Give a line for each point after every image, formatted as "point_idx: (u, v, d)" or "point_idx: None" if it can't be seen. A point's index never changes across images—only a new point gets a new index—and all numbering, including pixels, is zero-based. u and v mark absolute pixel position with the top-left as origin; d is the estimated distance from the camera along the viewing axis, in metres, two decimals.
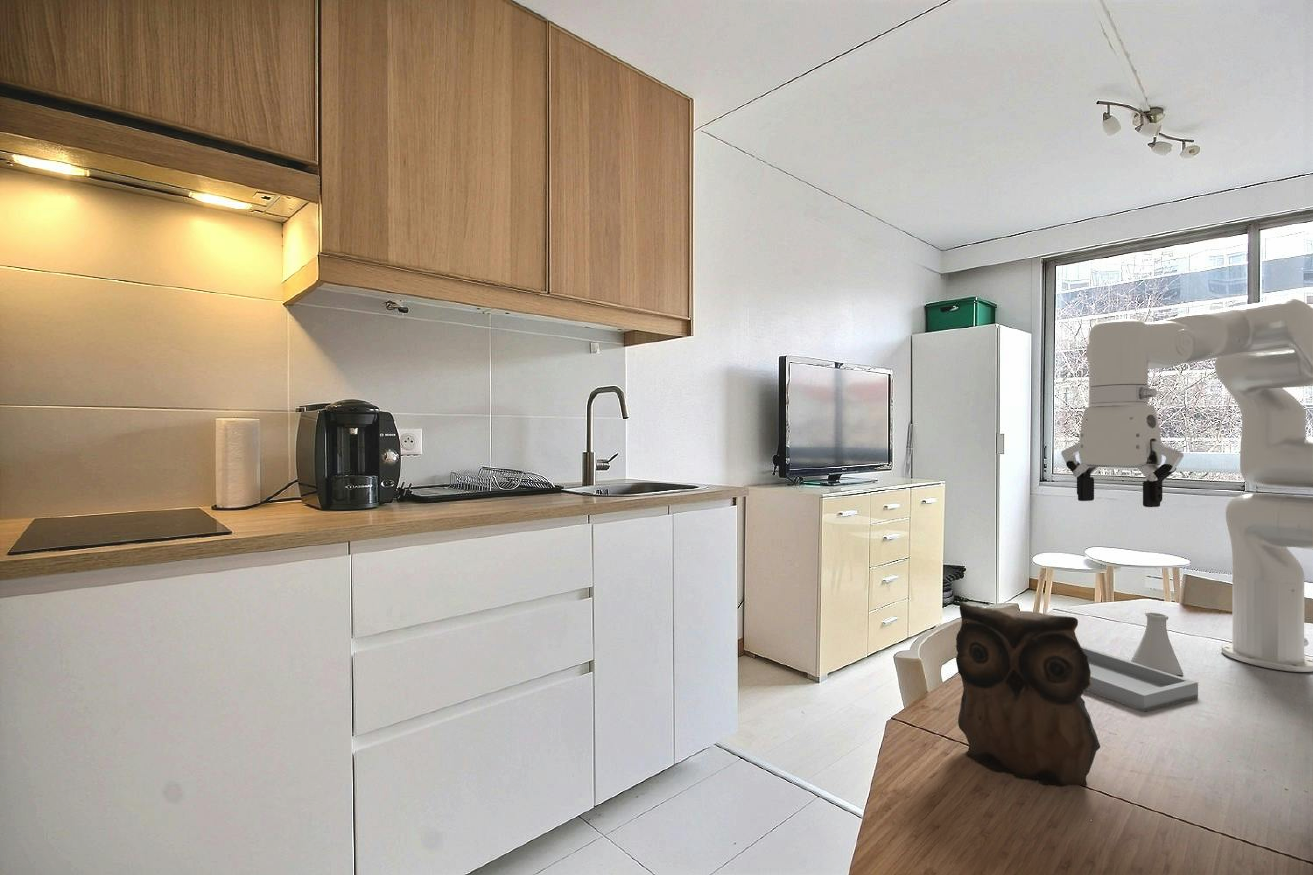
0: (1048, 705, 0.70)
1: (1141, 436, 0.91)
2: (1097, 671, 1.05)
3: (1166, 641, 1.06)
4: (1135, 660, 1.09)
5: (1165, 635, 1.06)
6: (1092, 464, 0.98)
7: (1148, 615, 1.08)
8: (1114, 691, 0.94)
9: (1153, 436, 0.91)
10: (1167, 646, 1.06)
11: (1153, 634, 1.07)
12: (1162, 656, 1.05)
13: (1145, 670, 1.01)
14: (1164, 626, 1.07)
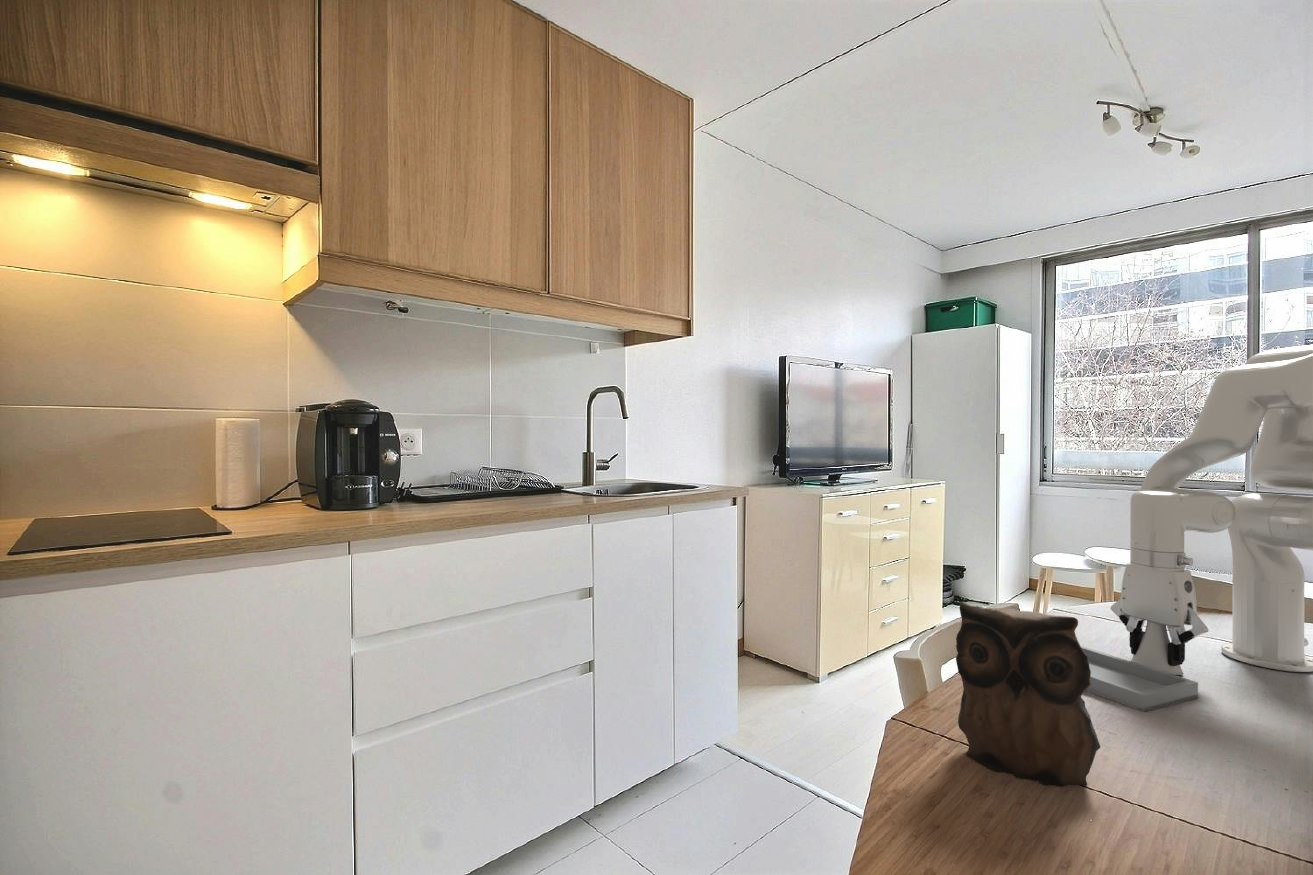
0: (1048, 705, 0.70)
1: (1179, 600, 1.03)
2: (1097, 671, 1.05)
3: (1166, 641, 1.06)
4: (1135, 660, 1.09)
5: (1165, 635, 1.06)
6: (1133, 615, 1.09)
7: None
8: (1114, 691, 0.94)
9: (1190, 600, 1.03)
10: (1167, 645, 1.06)
11: (1153, 633, 1.07)
12: (1162, 656, 1.05)
13: (1145, 670, 1.01)
14: (1164, 626, 1.07)
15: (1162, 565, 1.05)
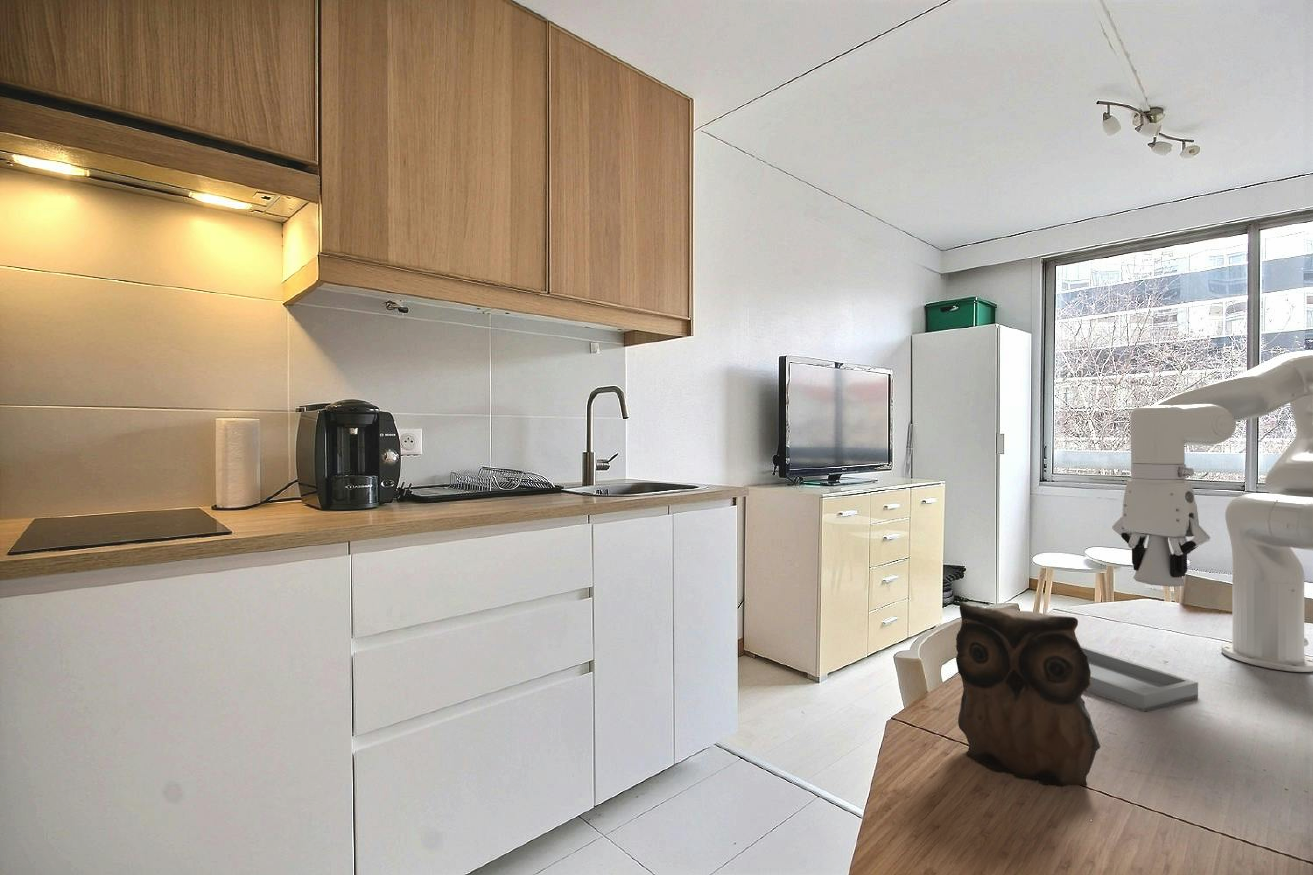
0: (1048, 705, 0.70)
1: (1181, 511, 1.03)
2: (1097, 671, 1.05)
3: (1168, 554, 1.06)
4: (1137, 575, 1.09)
5: (1167, 548, 1.06)
6: (1135, 531, 1.10)
7: None
8: (1114, 691, 0.94)
9: (1191, 510, 1.03)
10: None
11: (1155, 547, 1.07)
12: (1164, 569, 1.06)
13: (1145, 670, 1.01)
14: (1166, 540, 1.07)
15: (1163, 477, 1.05)
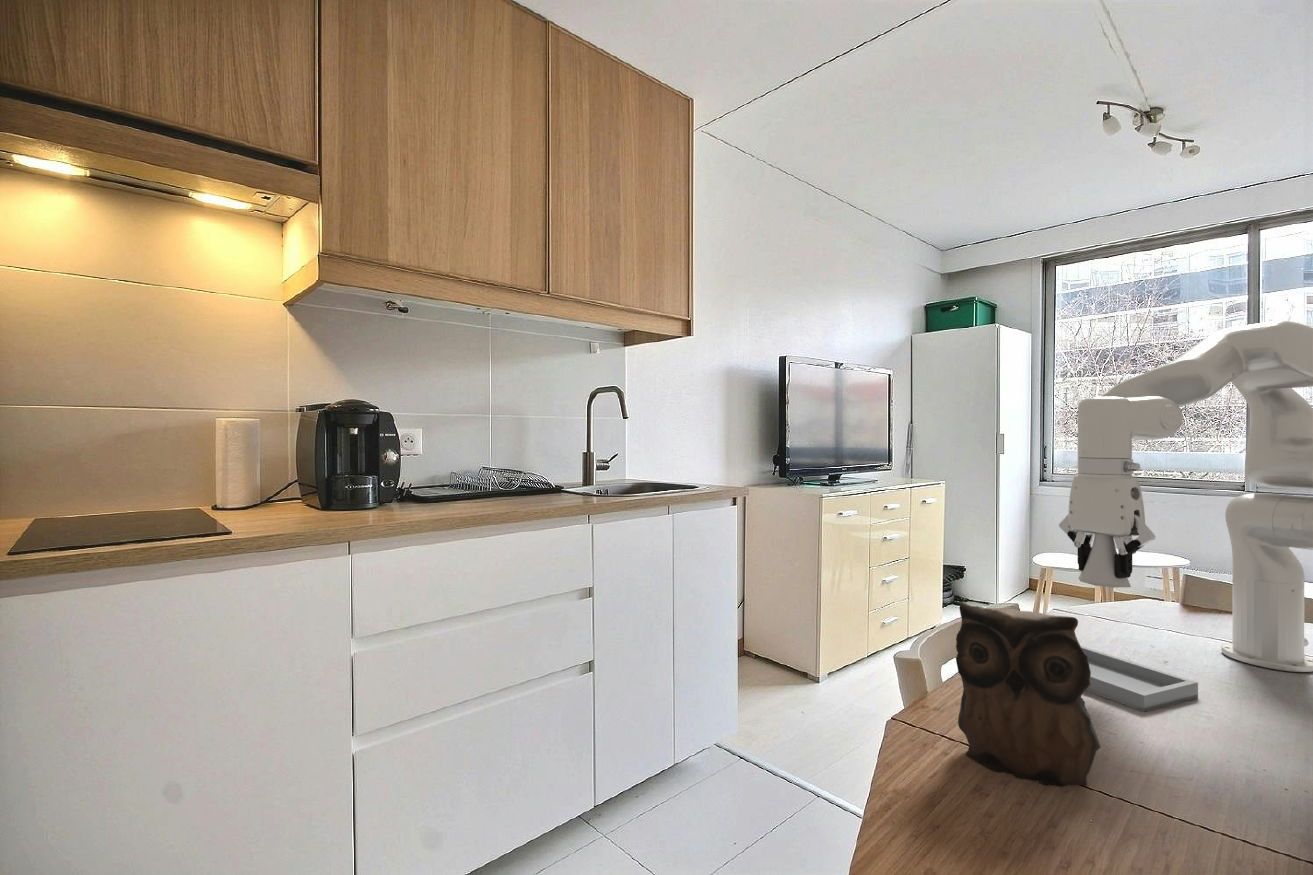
0: (1048, 705, 0.70)
1: (1125, 508, 0.97)
2: (1097, 671, 1.05)
3: (1113, 553, 1.01)
4: (1082, 575, 1.03)
5: (1112, 547, 1.01)
6: (1080, 529, 1.04)
7: None
8: (1114, 691, 0.94)
9: (1137, 507, 0.98)
10: None
11: (1100, 546, 1.01)
12: (1108, 569, 1.00)
13: (1145, 670, 1.01)
14: (1112, 538, 1.01)
15: (1108, 472, 0.99)
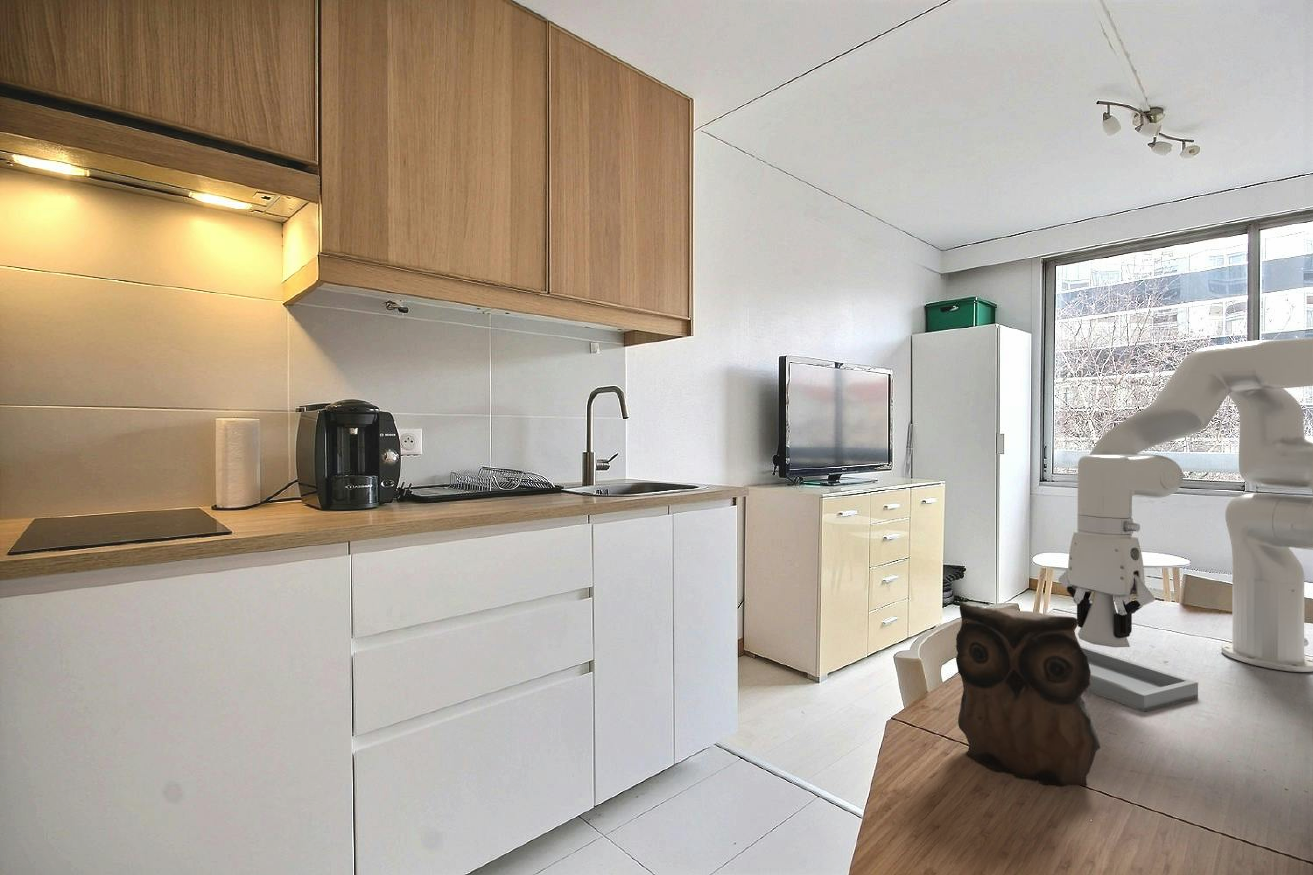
0: (1048, 705, 0.70)
1: (1125, 568, 0.97)
2: (1097, 671, 1.05)
3: (1112, 612, 1.00)
4: (1081, 632, 1.03)
5: (1112, 605, 1.01)
6: (1080, 586, 1.04)
7: None
8: (1114, 691, 0.94)
9: (1136, 568, 0.98)
10: None
11: (1100, 604, 1.01)
12: (1108, 628, 1.00)
13: (1145, 670, 1.01)
14: (1111, 596, 1.01)
15: (1108, 531, 0.99)
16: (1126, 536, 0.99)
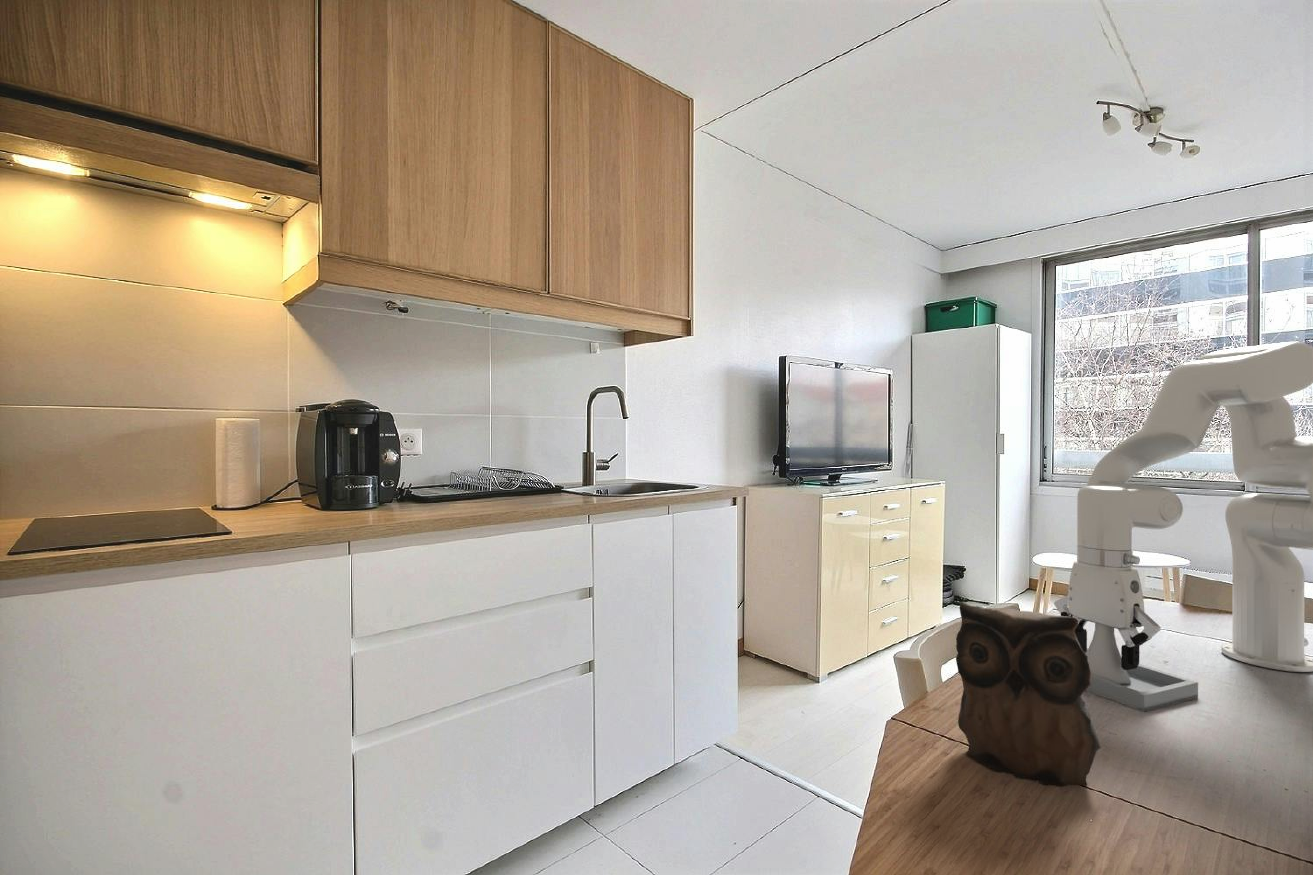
0: (1048, 705, 0.70)
1: (1125, 601, 0.97)
2: None
3: (1114, 647, 1.00)
4: None
5: (1113, 641, 1.01)
6: (1080, 617, 1.04)
7: None
8: (1114, 691, 0.94)
9: (1136, 601, 0.98)
10: (1115, 652, 1.00)
11: (1101, 640, 1.01)
12: (1109, 664, 1.00)
13: (1145, 670, 1.01)
14: (1112, 632, 1.01)
15: (1108, 564, 0.99)
16: (1126, 569, 0.99)
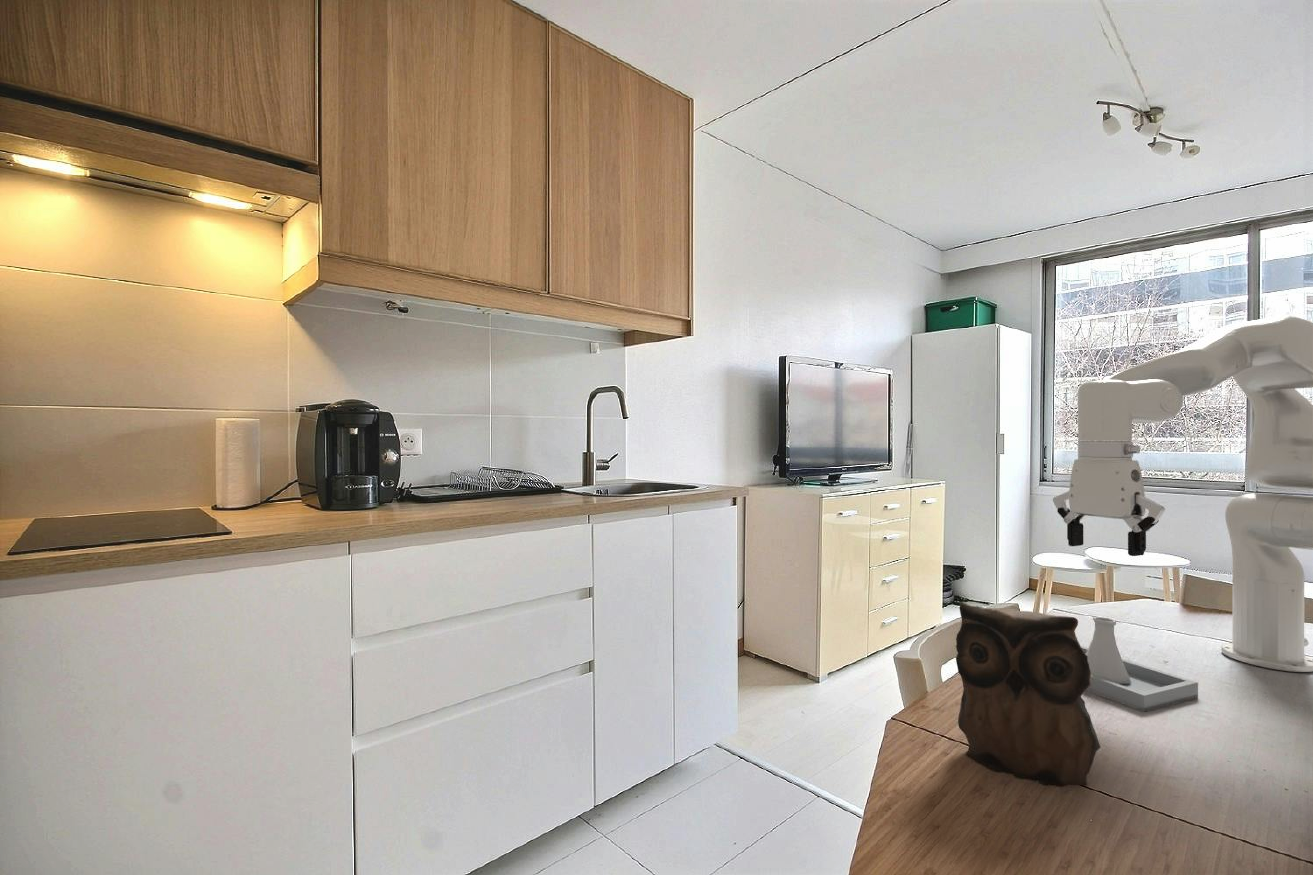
0: (1048, 705, 0.70)
1: (1126, 490, 0.98)
2: None
3: (1114, 647, 1.01)
4: None
5: (1113, 641, 1.01)
6: (1081, 513, 1.05)
7: (1095, 620, 1.02)
8: (1114, 691, 0.94)
9: (1137, 490, 0.98)
10: (1115, 652, 1.00)
11: (1101, 640, 1.01)
12: (1109, 664, 1.00)
13: (1145, 670, 1.01)
14: (1112, 632, 1.01)
15: (1109, 455, 1.00)
16: (1126, 459, 0.99)
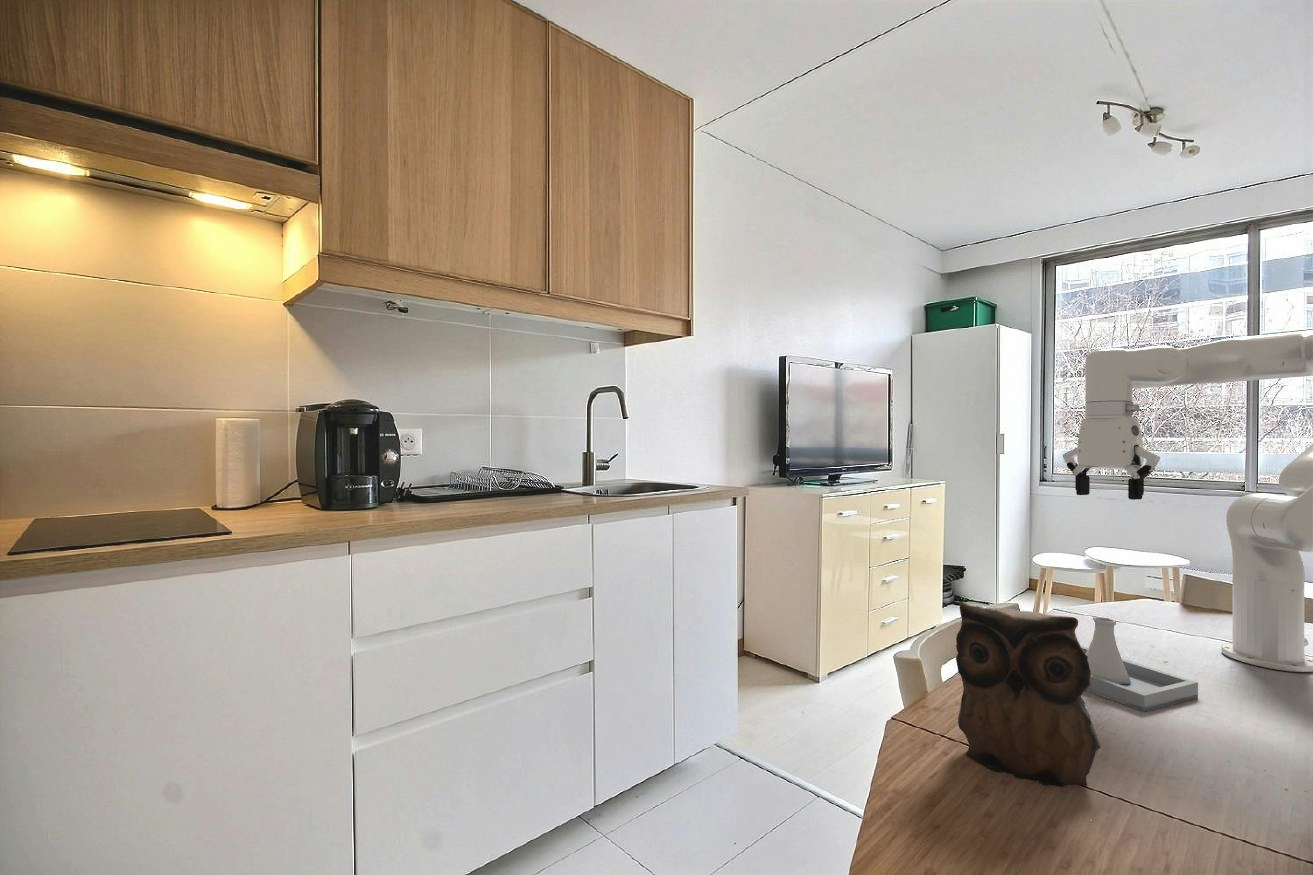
0: (1048, 705, 0.70)
1: (1127, 442, 1.13)
2: None
3: (1114, 647, 1.01)
4: None
5: (1113, 641, 1.01)
6: (1088, 465, 1.20)
7: (1095, 620, 1.02)
8: (1114, 691, 0.94)
9: (1136, 442, 1.14)
10: (1115, 652, 1.00)
11: (1101, 640, 1.01)
12: (1109, 664, 1.00)
13: (1145, 670, 1.01)
14: (1112, 632, 1.01)
15: (1112, 413, 1.15)
16: (1127, 416, 1.15)
